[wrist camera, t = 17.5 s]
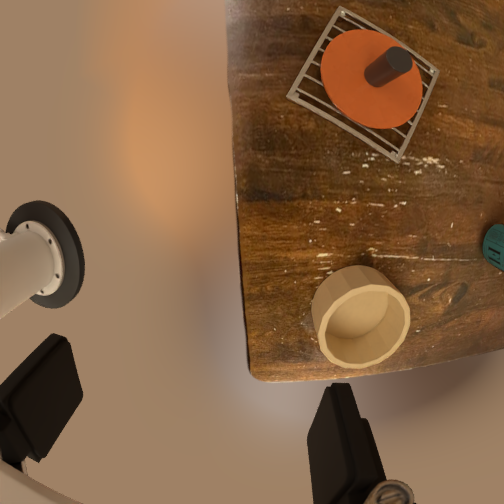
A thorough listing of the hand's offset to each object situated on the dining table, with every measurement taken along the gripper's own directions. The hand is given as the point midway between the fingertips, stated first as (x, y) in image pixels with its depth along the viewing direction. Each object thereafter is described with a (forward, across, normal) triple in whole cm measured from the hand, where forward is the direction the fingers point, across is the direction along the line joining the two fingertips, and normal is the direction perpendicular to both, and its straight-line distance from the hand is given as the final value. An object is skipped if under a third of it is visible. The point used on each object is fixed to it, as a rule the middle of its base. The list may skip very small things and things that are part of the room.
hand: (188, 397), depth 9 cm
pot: (+28, -16, +9) cm, 34 cm away
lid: (+26, -13, -20) cm, 35 cm away
